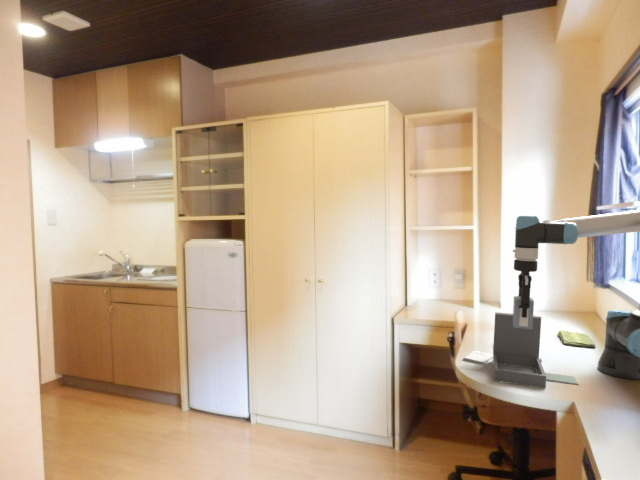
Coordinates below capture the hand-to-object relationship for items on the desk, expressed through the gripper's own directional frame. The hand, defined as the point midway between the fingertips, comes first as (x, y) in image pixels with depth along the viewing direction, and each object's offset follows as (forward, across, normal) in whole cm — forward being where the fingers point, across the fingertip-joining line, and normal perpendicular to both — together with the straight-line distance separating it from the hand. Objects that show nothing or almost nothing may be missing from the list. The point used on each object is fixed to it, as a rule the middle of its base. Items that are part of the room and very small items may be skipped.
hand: (522, 323), depth 161 cm
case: (+19, 0, -1) cm, 19 cm away
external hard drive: (+19, -13, -14) cm, 27 cm away
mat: (+19, -1, +13) cm, 23 cm away
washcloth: (+20, -55, +28) cm, 65 cm away
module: (+1, 0, 0) cm, 1 cm away
